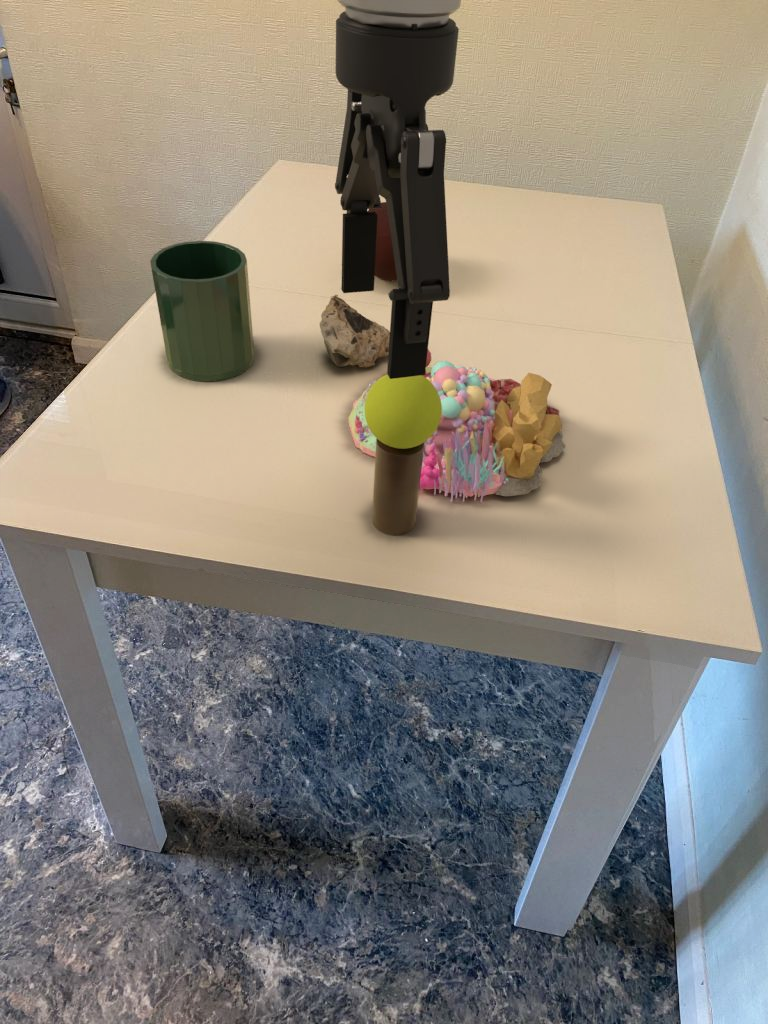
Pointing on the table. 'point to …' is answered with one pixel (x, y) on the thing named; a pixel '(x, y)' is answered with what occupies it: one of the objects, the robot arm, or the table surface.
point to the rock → (352, 335)
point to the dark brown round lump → (384, 246)
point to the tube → (204, 309)
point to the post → (396, 488)
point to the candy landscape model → (480, 433)
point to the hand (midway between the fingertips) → (379, 329)
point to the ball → (403, 410)
